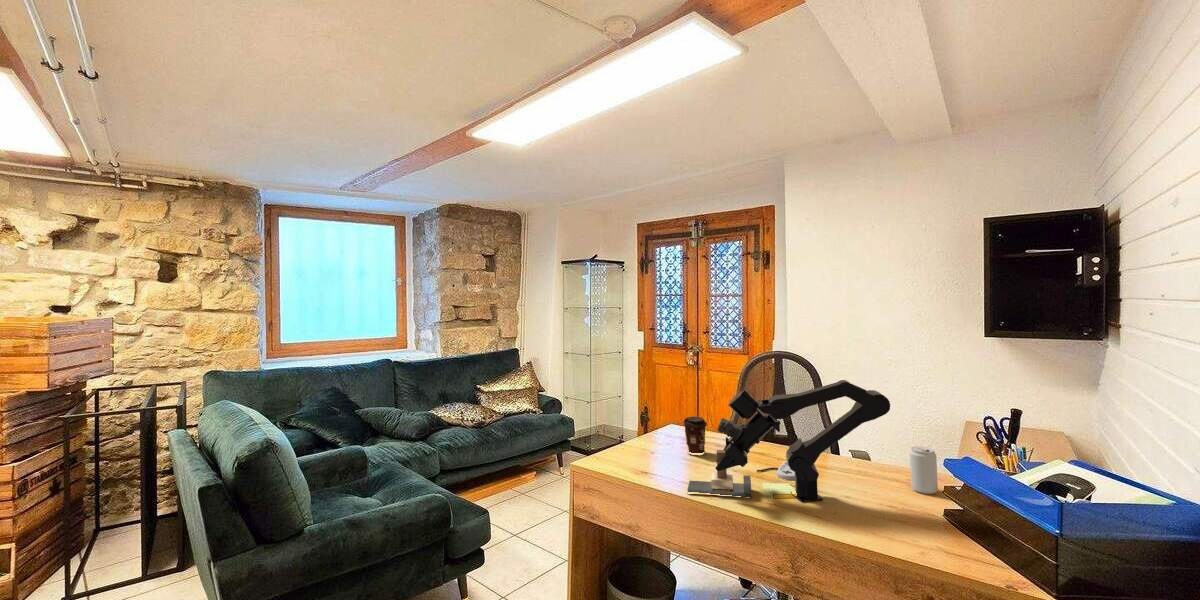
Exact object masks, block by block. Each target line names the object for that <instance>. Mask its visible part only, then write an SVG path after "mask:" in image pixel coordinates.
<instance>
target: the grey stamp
mask: <svg viewBox="0 0 1200 600" xmlns="http://www.w3.org/2000/svg"><path fill="white" fill-rule="evenodd" d="M724 455H725V450H723V449H716V460H717V462H716V466H717V465H718V464H719V462H720V461H721V460H722V458H723V457H724ZM727 469H728V468H727ZM727 469H724V470H721V471H717V470H716V471H717V472H711V478H710V479H711V480H710V482H711V484H712V488H714V489H731V490H733V483H734V476H733V473H729V472H728V473H727Z"/></svg>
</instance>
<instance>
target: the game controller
mask: <svg viewBox="0 0 1200 600" xmlns="http://www.w3.org/2000/svg"><path fill="white" fill-rule="evenodd" d="M769 469H770V470H776V469H777V470H776V477H777V476H778V477H777V478H779V479H781V478H782V479H781V480H784V479H787V480H786V481H795V472H794V471H792V470H791V469H790V467H789V465H788V462H787V460H786V461H784V462H782V463H781V464H780V466H779V467H767V468H763V469H757V470H756V472H757V471H761V472H765V471H764V470H766V471H770V470H769Z"/></svg>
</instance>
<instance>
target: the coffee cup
mask: <svg viewBox="0 0 1200 600" xmlns="http://www.w3.org/2000/svg"><path fill="white" fill-rule="evenodd" d="M683 426H684V432H685V442H686V445H687V448H688V450H689V452H691V453H703V452H705V453H706V450H705V445H706V427H707V426H708V424H707V422H706V420H705V419H704V418H703V417H701V416H694V415H693V416H687V417H685V418H684V421H683Z"/></svg>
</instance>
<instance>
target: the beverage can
mask: <svg viewBox="0 0 1200 600" xmlns="http://www.w3.org/2000/svg"><path fill="white" fill-rule="evenodd" d="M937 459H938V457H937V454H936V451H935V449H933V448H932V447H931V448H930V447H927V446H911V449H910V451H909V461H910V462H909V463H910V464H909V466H910V467H909V468H910V486H911V488H912V489H913V490H914V491H915V492H916V493H919V494H924V495H934V494H936V493H937V492H938V491H939V487H938V486H939V485H938V483H939V482H938V464H937V461H938V460H937Z"/></svg>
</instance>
